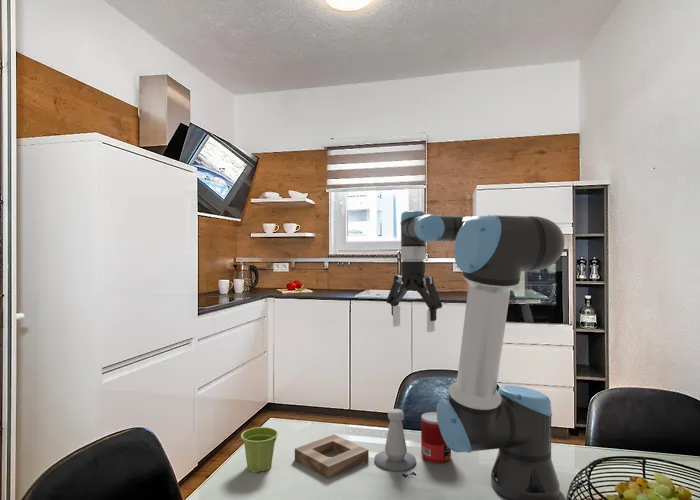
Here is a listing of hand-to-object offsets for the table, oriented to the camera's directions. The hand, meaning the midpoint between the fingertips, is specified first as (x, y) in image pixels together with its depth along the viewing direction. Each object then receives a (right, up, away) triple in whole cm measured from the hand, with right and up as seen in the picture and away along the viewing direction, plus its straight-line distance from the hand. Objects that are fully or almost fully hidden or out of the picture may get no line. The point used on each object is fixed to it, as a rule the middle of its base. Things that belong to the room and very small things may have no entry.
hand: (413, 328), depth 143 cm
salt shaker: (-7, -31, -21) cm, 38 cm away
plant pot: (-43, -32, -24) cm, 59 cm away
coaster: (-8, -32, -21) cm, 39 cm away
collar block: (-25, -32, -20) cm, 45 cm away
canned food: (+4, -32, -18) cm, 37 cm away
